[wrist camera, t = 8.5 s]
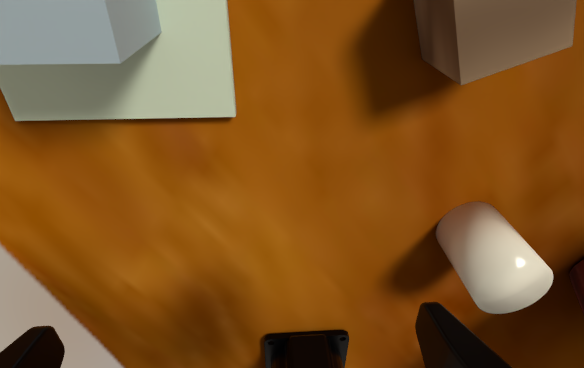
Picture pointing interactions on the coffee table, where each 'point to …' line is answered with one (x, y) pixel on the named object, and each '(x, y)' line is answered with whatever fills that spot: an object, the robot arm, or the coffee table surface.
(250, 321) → the coffee table surface
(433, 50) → the walnut cube
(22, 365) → the robot arm
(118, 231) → the coffee table surface
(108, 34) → the slate-blue block
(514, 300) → the ivory rounded cylinder
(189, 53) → the felt mat
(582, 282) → the plant pot
